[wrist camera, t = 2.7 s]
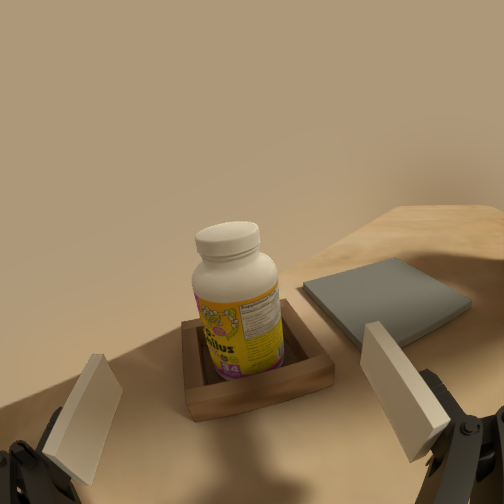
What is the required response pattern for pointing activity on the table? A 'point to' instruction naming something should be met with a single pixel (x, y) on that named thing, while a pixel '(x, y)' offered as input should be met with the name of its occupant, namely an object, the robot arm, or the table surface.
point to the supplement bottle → (238, 300)
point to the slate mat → (386, 300)
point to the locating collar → (259, 385)
